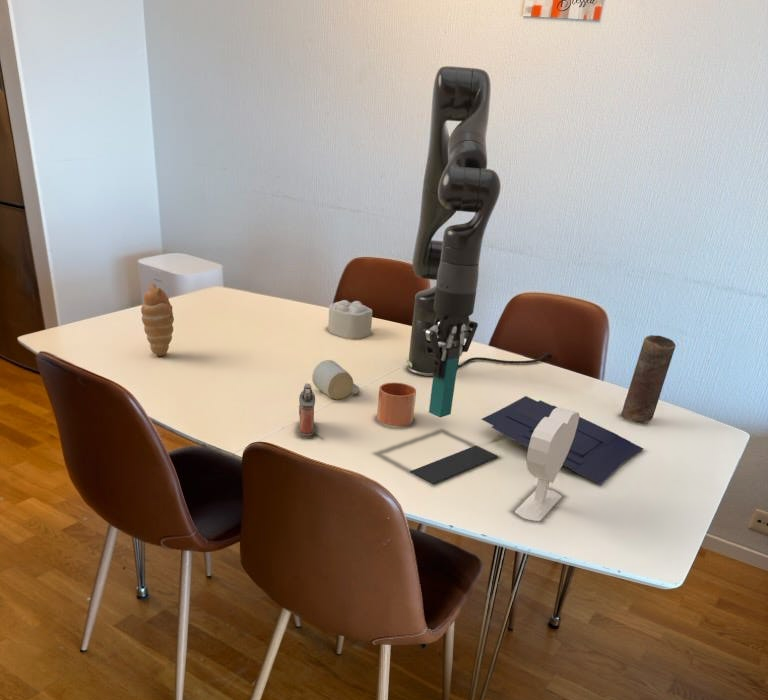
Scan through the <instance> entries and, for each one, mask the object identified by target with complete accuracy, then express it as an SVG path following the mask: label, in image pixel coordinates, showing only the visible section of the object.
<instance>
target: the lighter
mask: <svg viewBox="0 0 768 700" xmlns="http://www.w3.org/2000/svg"><path fill="white" fill-rule="evenodd" d="M298 403H299V405H298V415H299V423H298V435H299V436H300V438H303V439H311V438H313V437H314V435H315V423H314V422H315V421H314V420H315V405H316V395H315V392H314V391H313V389H312V385H311V383H306V382H305V384H304V385H303V390H302V391H301V392H300V394H299V397H298Z"/></svg>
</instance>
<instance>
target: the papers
mask: <svg viewBox="0 0 768 700" xmlns="http://www.w3.org/2000/svg"><path fill="white" fill-rule="evenodd" d="M557 407H558V406H556V405H554V404H553V405H552V404H550V403H548V402H545V401H543V400H540V399H539V400H535V399H533V398H531V397H529V396H528V395H524V396H523V397H521V398H519V399H518V400H516V401H514V402H512V403H510V404H508V405H506V406H505V407H502V408H501V409H498V410H496V411H494V412H493V413H491V414H489V415H486V416H484V417H482V418H481V420H482V421H483V422H486V423H487V424H489V425H491V428H492V429H494V430H495V431H498V432H499V433H501V434H502V435H503V436H505V437H507V438H509V439H510V440H512V441H514V442H515V443H519V444H522V445H523V446H525V447H527V448H528V447H529V443H530V440H531V436H532V434H533V432H534V430H535V428H536V427H537V425H538V424H539V423H540V421H541V420H542V419H543V418H544V417H548V418H549V416H550V414H551V412H552V411H553V410H554V409H555V408H557ZM642 450H644V448H643V447H642V446H640V445H638V444H636V443H633V442H632V441H630V440H628V439H627V438H624V437H622V436H620V435H619V434H618V433H615V432H612V431H610V430H609V429H606V428H604V427H602V426H600V425H598V424H597V423H594V422H592V421H590V420H587V419H586V418H583V417H581V416H579V420H578V425H577V429H576V432H575V436H574V439H573V442H572V444H571V447H570V450H569V452H568V454H567V456H566V458H565V461H564V463H563V465H562V466H565V467H566V468H569V470H571V471H573V472H575V473H577V474H579V475H580V476H582V477H584V478H587V479H588V480H591V481H594V482H595V483H597V484H599V485H602V484H603V482H605V481H606V480H607V479H608V478H609V477H610V476H611V475H612V474H613V473H614V472H615V471H616V470H617V469H618V468H619V467H620V466H621V465H622V464H624V463H626V462H627V461H628V460H629V459H632V458H633V457H634V456H636V455H637V454H638V453H641V451H642Z"/></svg>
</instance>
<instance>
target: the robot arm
mask: <svg viewBox="0 0 768 700" xmlns="http://www.w3.org/2000/svg"><path fill="white" fill-rule="evenodd" d="M491 88H492V87H491V79H490V75H489V74H488V72H487V71H486V70H484V69H481V68H476V67H465V66H453V65H452V66H450V65H446V66H441V67H440V68H439V69H438V70H437V72H436V75H435V78H434V83H433V88H432V96H431V97H432V99H431V113H430V114H431V115H430V127H429V142H428V151H427V156H426V164H425V171H424V175H423V183H422V191H421V201H420V203H421V204H420V212H419V213H420V215H419V222H418V228H417V234H416V238H415V245H414V248H413V254H412V272H413V275H414V276H415V277H416V278H419V279H421V280H432V281H436V283H435V286H433V287H431V288H427V289H424V290H420V291H418V292H417V293H415V296H414V302H413V312H412V323H411V331H410V340H409V341H410V342H409V350H408V351H409V352H408V358H407V359H406V364H407V365H406V368H407V370H408V372H410V373H412V374H415V375H417V376H422V377H433V376H434V377H436V378H439V379H442V378H443V377H444V370H445V363H446V361H445V359H446V356H447V350H448V349H450V348H451V345H452V344H453V345H455V346H458V347H460V351H459V358H458V365H457V372H456V374H457V373H458V369H459V368H461V367H464V366H465V365H467V364H468V363H470V362H473V361H489V362H493V363H500V364H501V363H502V364H510V365H511V364H515V365H516V364H532V363H533V364H534V363H538V362H540V361H542V360H543V359H544V358H546V357H547V356H548V357H549V358H553V355H552V354H551V353H550V352H546V353H544V354H542V355H541V356H540V357H539V358H537V359H530V360H505V359H504V360H503V359H496V358H490V357H482V356H481V357H480V356H477V357H470V358H467V360H465V361H464V362H462V364H460V357H462V356H463V353H468V351H469V349H470V346H471V344H472V342H473V339H474V336H475V334H476V331H477V329H478V326H479V323H478V322H476V321H474V320H471V319H470V316H472V315H473V314H474V311H475V303H476V297H477V291H478V290H477V289H478V282H479V274H480V272H479V269H480V268H479V267H480V260H481V252H482V245H483V240H484V236H485V233H486V229H487V226H488V224H489V221H490V219H491V216H492V214H493V212H494V210H495V208H496V205H497V203H498V200H499V197H500V195H501V194H500V193H501V190H502V189H501V188H502V187H501V186H502V185H501V179H500V176H499V175H498V173H497V172H496V171H495V170H494V169H490V168H488V152H487V131H488V126H489V117H490V107H491V91H492V89H491ZM447 122H459V123H458V124H457V125H456V126H455V128H454V129H453V130H452V132H451V133H450V134H449V130H448V125H447ZM456 212H463V213H464V212H465V213H474V216H473V217H472V218H471V219H470V220H469V221H467V222H465V223H460V224H459V223H458V224H452V225H449V226H447V227H446V228H445V229H444V231H443V234H442V240H436V239H435V240H434V239H433V238H434V236H435V234H436V233H437V232H438V231H439V230H440V229H441V228H442V227H443V226H444V225H445V224H446V223H447V222H448V221H449V220H450V219H452V217H453V216H454V215H455V214H456ZM440 347H442V353H440Z"/></svg>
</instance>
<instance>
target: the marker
mask: <svg viewBox="0 0 768 700" xmlns="http://www.w3.org/2000/svg"><path fill="white" fill-rule="evenodd" d="M459 351H460V347H458V346H456V345H453V344H452V345H451V348H450V349H448V350H447V356H446V359H445V361H446V363H445V370H444V377H443V378H442V379H439V378H436V377H434V376H432V383H431V389H430V391H431V392H430V400H429V407H428V413H429V414H431V415H433V416H436V417H438V418H444V417H447V416H449V415H452V408H453V400H454V393H455V388H456V387H455V386H456V385H455V384H456V380H457V379H456V378H457V373H458V370H457V365H459V364H458V358H459V359H460V357H459ZM440 353H442V347H440ZM456 372H457V373H456Z"/></svg>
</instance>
